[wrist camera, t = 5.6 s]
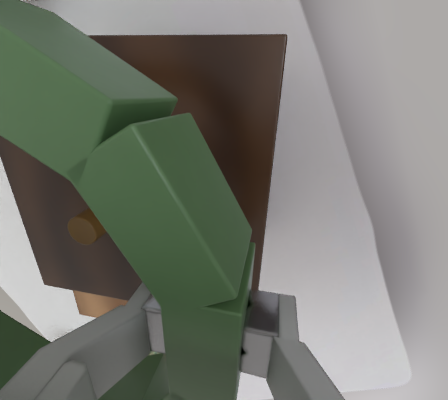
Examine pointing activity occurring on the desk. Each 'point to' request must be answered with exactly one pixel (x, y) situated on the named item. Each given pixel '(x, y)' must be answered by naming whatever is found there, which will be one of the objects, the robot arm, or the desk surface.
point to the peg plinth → (187, 103)
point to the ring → (132, 199)
